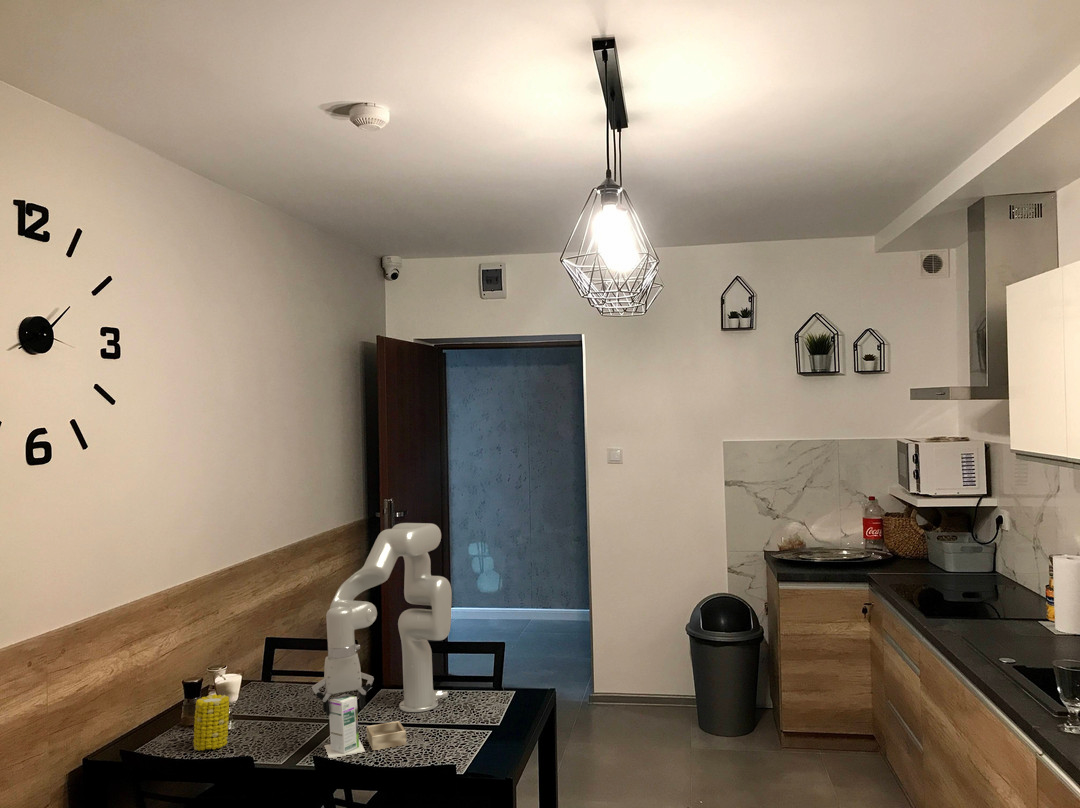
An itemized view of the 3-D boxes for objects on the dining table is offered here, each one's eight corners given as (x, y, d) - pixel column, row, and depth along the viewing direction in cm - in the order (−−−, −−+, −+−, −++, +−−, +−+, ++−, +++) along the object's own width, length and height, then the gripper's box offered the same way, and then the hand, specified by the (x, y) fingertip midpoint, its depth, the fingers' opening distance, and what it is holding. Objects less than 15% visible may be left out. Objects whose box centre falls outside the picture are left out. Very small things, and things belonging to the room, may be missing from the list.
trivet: (359, 741, 243) (359, 739, 243) (365, 753, 234) (365, 750, 234) (324, 747, 240) (324, 745, 240) (328, 759, 230) (328, 757, 230)
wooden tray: (399, 734, 248) (398, 720, 248) (406, 745, 239) (406, 731, 239) (367, 740, 244) (366, 726, 244) (372, 751, 235) (372, 737, 235)
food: (187, 755, 242) (216, 745, 250) (213, 752, 236) (242, 742, 245) (180, 702, 245) (210, 693, 253) (206, 697, 239) (235, 689, 247)
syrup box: (344, 754, 232) (342, 701, 233) (329, 750, 236) (328, 698, 236) (359, 747, 237) (357, 696, 237) (345, 743, 240) (343, 692, 241)
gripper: (369, 643, 245) (372, 701, 245) (309, 652, 238) (312, 712, 238) (374, 649, 238) (377, 709, 238) (312, 659, 231) (315, 721, 231)
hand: (344, 711), depth 238 cm, fingers open, 9 cm apart
